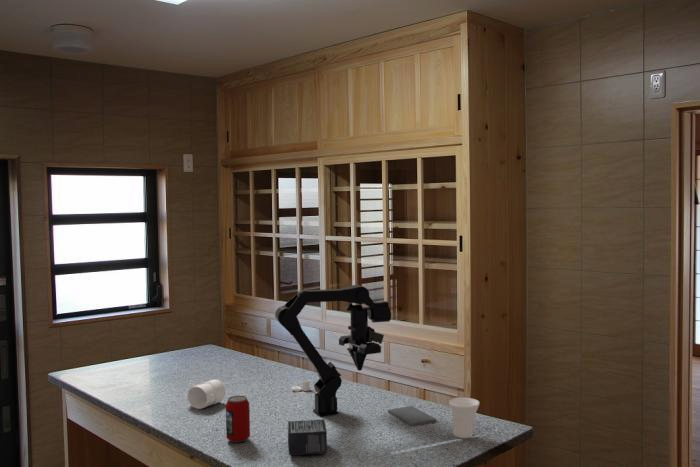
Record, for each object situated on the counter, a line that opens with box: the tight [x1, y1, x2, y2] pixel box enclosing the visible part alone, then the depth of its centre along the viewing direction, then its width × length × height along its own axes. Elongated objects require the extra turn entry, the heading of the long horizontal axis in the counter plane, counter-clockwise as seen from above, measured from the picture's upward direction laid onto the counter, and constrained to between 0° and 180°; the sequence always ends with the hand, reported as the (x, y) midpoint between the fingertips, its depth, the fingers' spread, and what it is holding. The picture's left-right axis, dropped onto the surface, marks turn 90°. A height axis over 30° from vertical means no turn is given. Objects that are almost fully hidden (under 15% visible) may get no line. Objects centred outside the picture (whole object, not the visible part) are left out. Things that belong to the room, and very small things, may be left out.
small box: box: [287, 419, 328, 456], centre depth 178 cm, size 11×6×10 cm
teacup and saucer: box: [291, 379, 317, 395], centre depth 235 cm, size 9×8×4 cm
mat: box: [387, 405, 437, 427], centre depth 204 cm, size 9×15×1 cm, turn 25°
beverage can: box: [225, 395, 251, 443], centre depth 187 cm, size 7×7×12 cm
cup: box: [448, 397, 481, 439], centre depth 187 cm, size 9×9×10 cm
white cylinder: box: [187, 379, 226, 410], centre depth 220 cm, size 12×9×8 cm
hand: (359, 370), depth 213 cm, fingers closed
